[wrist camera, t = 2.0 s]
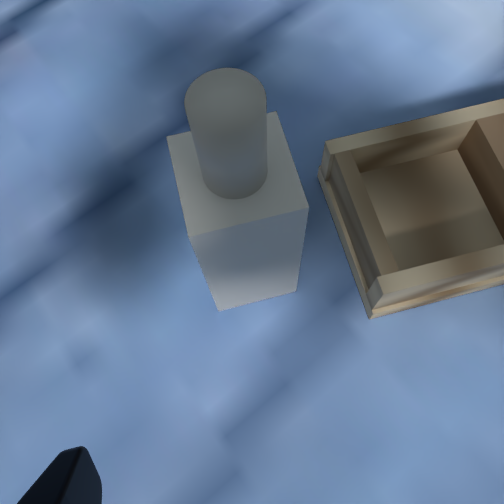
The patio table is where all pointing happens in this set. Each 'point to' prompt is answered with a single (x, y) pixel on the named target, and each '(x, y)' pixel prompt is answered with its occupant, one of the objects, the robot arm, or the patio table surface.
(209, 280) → the grey plug
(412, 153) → the tray
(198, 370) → the patio table surface
